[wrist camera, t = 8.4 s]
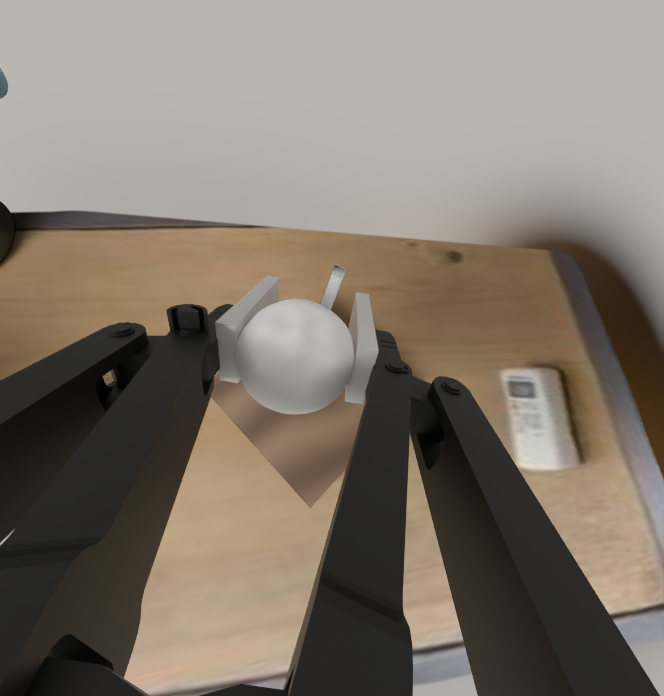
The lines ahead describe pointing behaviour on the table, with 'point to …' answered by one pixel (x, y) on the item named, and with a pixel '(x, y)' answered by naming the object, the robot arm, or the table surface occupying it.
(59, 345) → the table surface
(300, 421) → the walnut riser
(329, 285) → the milkshake
